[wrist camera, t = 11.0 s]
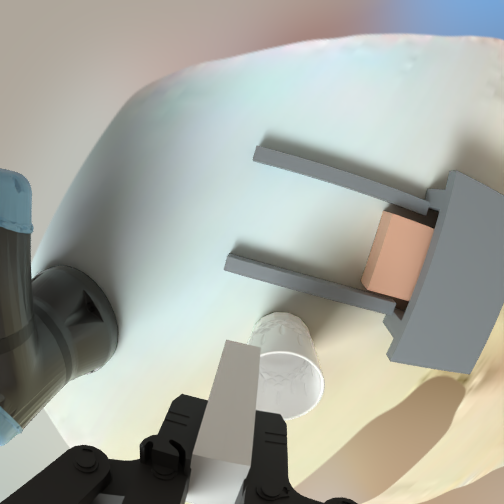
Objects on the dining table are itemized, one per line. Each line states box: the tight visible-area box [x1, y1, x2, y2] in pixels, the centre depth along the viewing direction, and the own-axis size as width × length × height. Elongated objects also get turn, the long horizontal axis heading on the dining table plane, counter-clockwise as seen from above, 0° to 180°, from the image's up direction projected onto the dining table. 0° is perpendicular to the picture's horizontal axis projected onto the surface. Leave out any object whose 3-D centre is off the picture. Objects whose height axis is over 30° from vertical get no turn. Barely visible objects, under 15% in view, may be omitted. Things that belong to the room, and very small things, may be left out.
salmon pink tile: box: [361, 211, 434, 301], centre depth 31 cm, size 14×8×3 cm, turn 75°
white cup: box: [247, 312, 325, 420], centre depth 31 cm, size 8×8×10 cm
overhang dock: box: [224, 146, 504, 374], centre depth 30 cm, size 31×20×6 cm, turn 75°
